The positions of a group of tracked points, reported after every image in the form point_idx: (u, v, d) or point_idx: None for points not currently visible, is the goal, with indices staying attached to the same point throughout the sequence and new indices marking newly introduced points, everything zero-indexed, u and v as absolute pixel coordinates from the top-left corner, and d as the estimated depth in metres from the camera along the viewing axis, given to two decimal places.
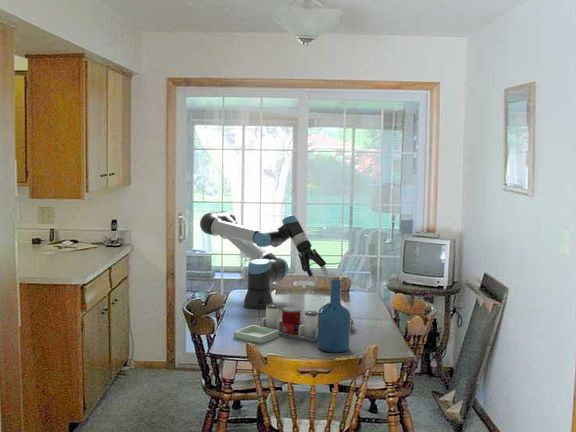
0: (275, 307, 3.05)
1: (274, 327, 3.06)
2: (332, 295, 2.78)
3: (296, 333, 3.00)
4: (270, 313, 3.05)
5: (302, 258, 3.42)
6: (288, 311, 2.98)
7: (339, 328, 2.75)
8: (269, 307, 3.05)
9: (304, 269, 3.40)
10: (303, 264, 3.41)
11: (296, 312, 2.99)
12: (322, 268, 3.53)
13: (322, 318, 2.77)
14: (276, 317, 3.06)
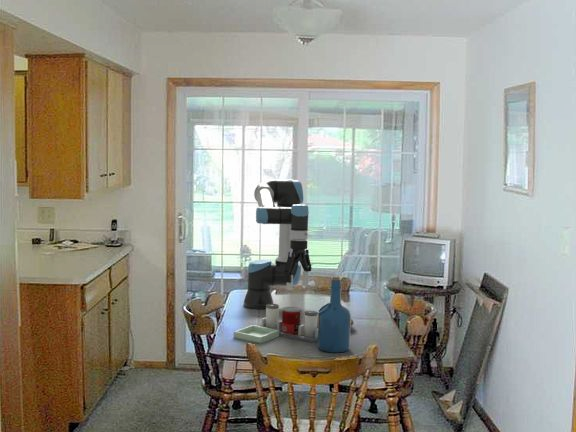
0: (275, 307, 3.05)
1: (274, 327, 3.06)
2: (332, 295, 2.78)
3: (296, 333, 3.00)
4: (270, 313, 3.05)
5: (290, 260, 2.95)
6: (288, 311, 2.98)
7: (339, 328, 2.75)
8: (269, 307, 3.05)
9: (285, 273, 2.94)
10: (287, 267, 2.94)
11: (296, 312, 2.99)
12: (304, 273, 3.08)
13: (322, 318, 2.77)
14: (276, 317, 3.06)
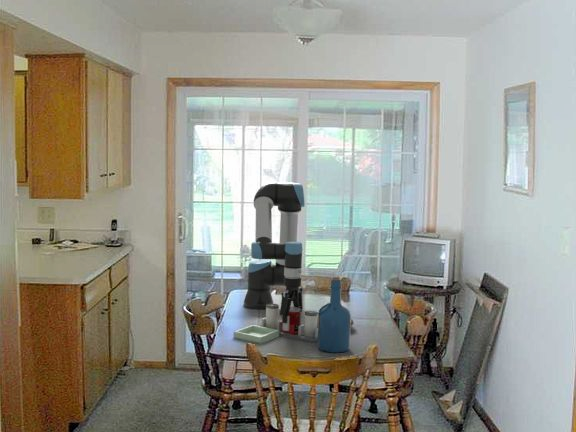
0: (275, 307, 3.05)
1: (274, 327, 3.06)
2: (332, 295, 2.78)
3: (296, 333, 3.00)
4: (270, 313, 3.05)
5: (284, 301, 2.96)
6: (289, 311, 2.98)
7: (339, 328, 2.75)
8: (269, 307, 3.05)
9: None
10: (283, 309, 2.96)
11: (296, 312, 2.99)
12: None
13: (322, 318, 2.77)
14: (276, 317, 3.06)
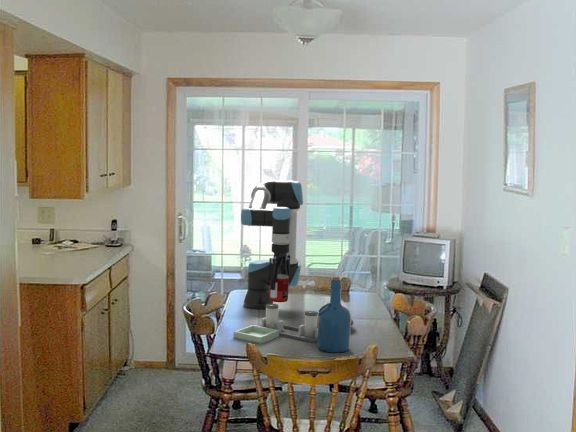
0: (275, 307, 3.05)
1: (274, 327, 3.06)
2: (332, 295, 2.78)
3: (284, 300, 2.95)
4: (270, 313, 3.05)
5: (272, 267, 2.90)
6: (277, 278, 2.93)
7: (339, 328, 2.75)
8: (269, 307, 3.05)
9: (270, 281, 2.91)
10: (271, 275, 2.90)
11: (284, 279, 2.94)
12: None
13: (322, 318, 2.77)
14: (276, 317, 3.06)
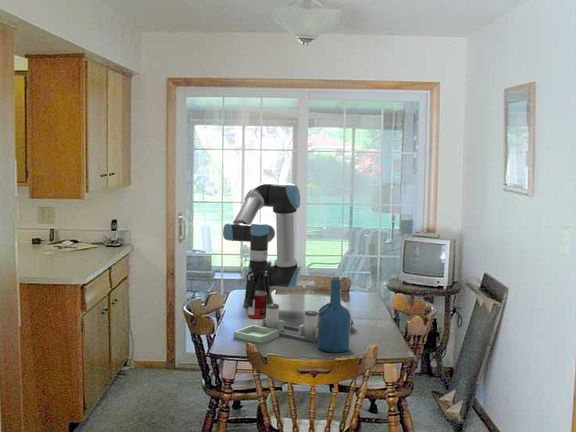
0: (275, 307, 3.05)
1: (274, 327, 3.06)
2: (332, 295, 2.78)
3: (262, 317, 2.91)
4: (270, 313, 3.05)
5: (249, 284, 2.86)
6: None
7: (339, 328, 2.75)
8: (270, 307, 3.04)
9: (247, 298, 2.87)
10: (248, 292, 2.86)
11: (262, 295, 2.89)
12: None
13: (322, 318, 2.77)
14: (276, 317, 3.06)
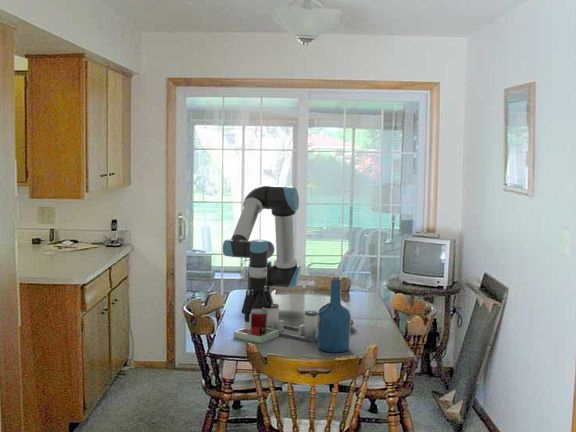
0: (275, 307, 3.05)
1: (274, 327, 3.06)
2: (332, 295, 2.78)
3: None
4: (270, 313, 3.05)
5: (248, 299, 2.86)
6: (254, 313, 2.90)
7: (339, 328, 2.75)
8: None
9: (243, 313, 2.85)
10: (245, 307, 2.85)
11: (261, 314, 2.90)
12: None
13: (322, 318, 2.77)
14: (276, 317, 3.06)
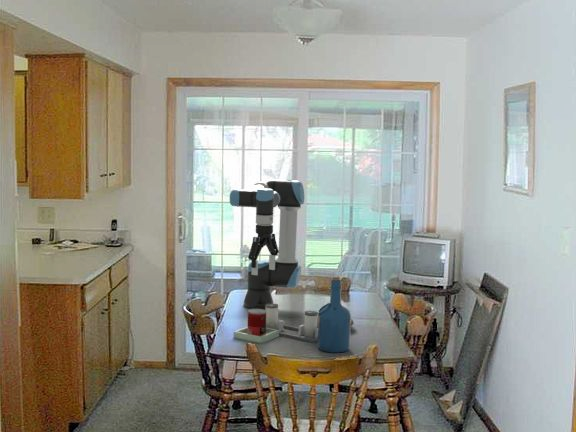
0: (275, 306, 3.05)
1: (274, 327, 3.06)
2: (332, 295, 2.78)
3: None
4: (270, 313, 3.05)
5: (254, 245, 2.94)
6: (254, 313, 2.90)
7: (339, 328, 2.75)
8: (269, 307, 3.05)
9: (250, 259, 2.93)
10: (252, 253, 2.93)
11: (261, 314, 2.90)
12: (271, 257, 3.07)
13: (322, 318, 2.77)
14: (276, 316, 3.06)
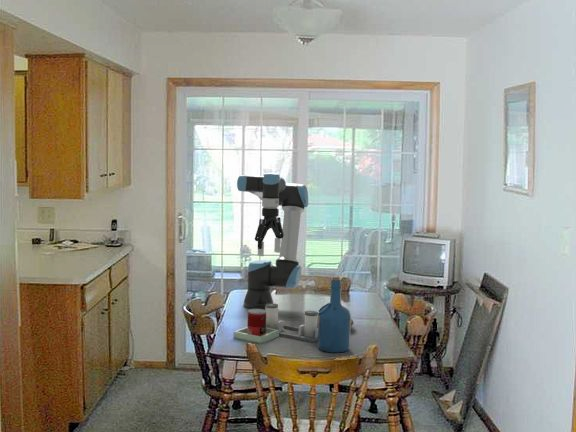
0: (275, 306, 3.05)
1: (275, 326, 3.06)
2: (332, 295, 2.78)
3: None
4: (270, 313, 3.05)
5: (261, 227, 3.04)
6: (254, 313, 2.90)
7: (339, 328, 2.75)
8: (269, 307, 3.05)
9: (256, 240, 3.03)
10: (258, 234, 3.03)
11: (261, 314, 2.90)
12: (276, 240, 3.17)
13: (322, 318, 2.77)
14: (276, 316, 3.06)
